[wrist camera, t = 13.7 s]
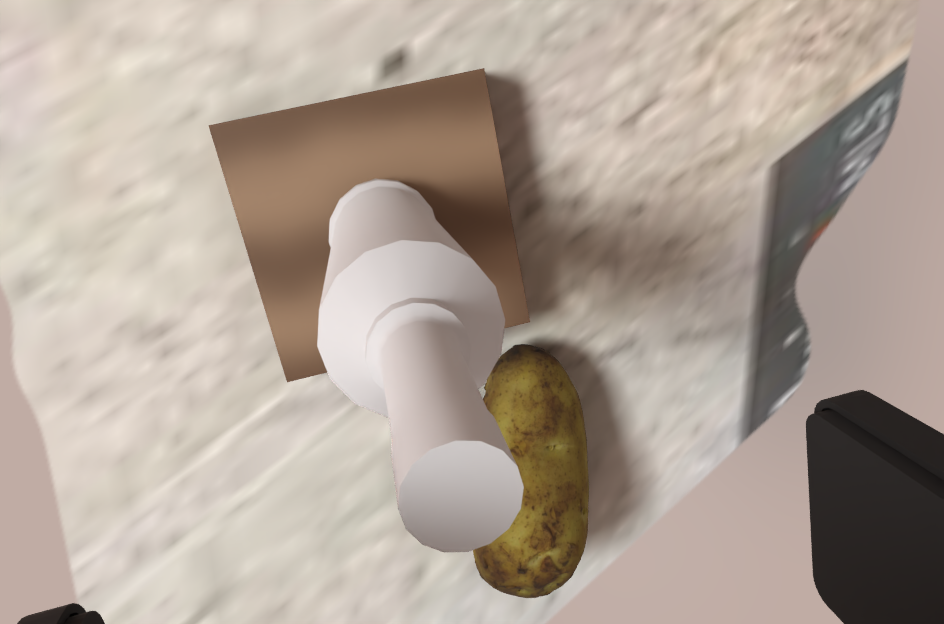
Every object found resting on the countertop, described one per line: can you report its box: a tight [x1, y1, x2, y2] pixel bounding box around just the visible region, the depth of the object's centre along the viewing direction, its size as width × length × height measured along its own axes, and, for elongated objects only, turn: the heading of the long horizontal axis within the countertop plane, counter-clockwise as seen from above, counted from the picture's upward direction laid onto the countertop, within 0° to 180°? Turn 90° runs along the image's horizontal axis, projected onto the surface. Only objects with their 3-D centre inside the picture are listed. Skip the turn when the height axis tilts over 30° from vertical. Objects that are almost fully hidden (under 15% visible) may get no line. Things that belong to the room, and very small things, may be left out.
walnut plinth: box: [209, 68, 530, 382], centre depth 36 cm, size 13×13×3 cm
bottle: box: [317, 179, 524, 552], centre depth 23 cm, size 5×5×25 cm
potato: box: [473, 344, 589, 598], centre depth 39 cm, size 8×13×8 cm, turn 158°
